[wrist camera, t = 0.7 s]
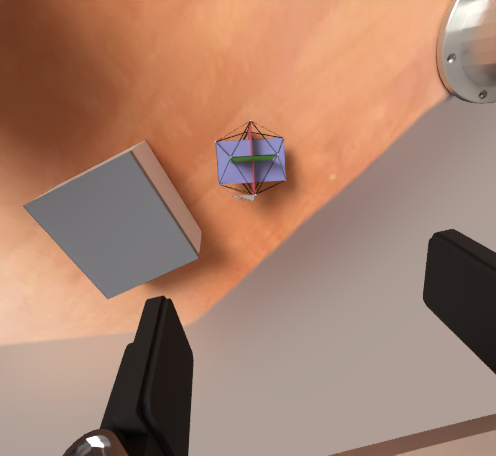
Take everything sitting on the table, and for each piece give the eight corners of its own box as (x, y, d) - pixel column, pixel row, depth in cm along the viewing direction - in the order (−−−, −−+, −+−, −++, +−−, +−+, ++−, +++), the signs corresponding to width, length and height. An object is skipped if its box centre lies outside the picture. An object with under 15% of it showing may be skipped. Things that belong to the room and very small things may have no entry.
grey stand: (145, 139, 30) (129, 151, 24) (201, 231, 35) (198, 258, 30) (56, 185, 31) (22, 206, 26) (124, 267, 36) (107, 299, 31)
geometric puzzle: (211, 104, 27) (215, 174, 23) (284, 100, 27) (298, 168, 24) (217, 155, 33) (221, 216, 30) (276, 152, 34) (286, 211, 30)
